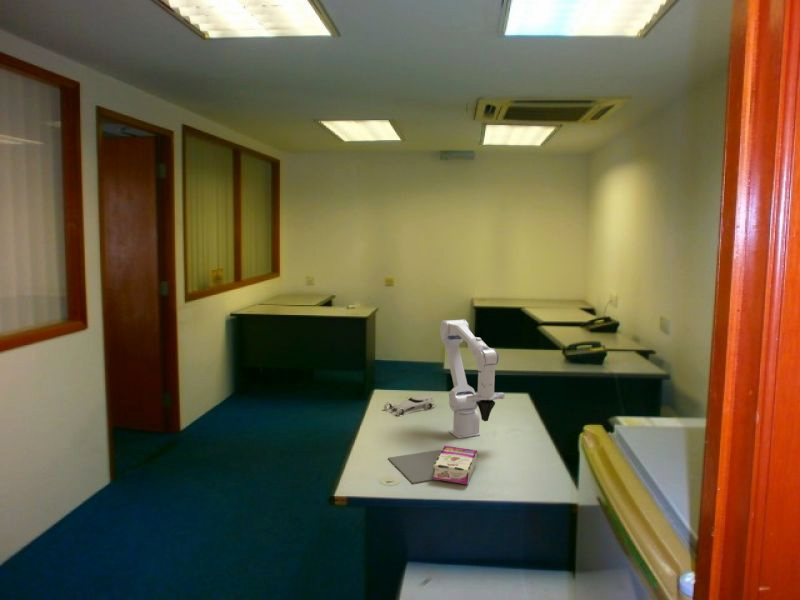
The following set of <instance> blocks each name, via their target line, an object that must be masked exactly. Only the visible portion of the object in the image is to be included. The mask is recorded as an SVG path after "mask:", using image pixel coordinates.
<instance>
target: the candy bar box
mask: <svg viewBox="0 0 800 600" xmlns="http://www.w3.org/2000/svg"><path fill="white" fill-rule="evenodd" d="M441 450H442V451H441V453H440V455H439V456H438V458H437V460H436V462H435V463H434V470H433V479H437V480H436V481H444V482H452V483H457V484H463V485H468V484H469V482H470V479H471V477H472V474H473V472H474V470H475V468H476V464H477V453H478V450H475V449H469V448H463V447H455V446H448V445H444V446H443V447H442V449H441Z"/></svg>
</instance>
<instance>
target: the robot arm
mask: <svg viewBox="0 0 800 600" xmlns="http://www.w3.org/2000/svg"><path fill="white" fill-rule="evenodd" d="M469 325H470V324H469V322H467V320H466V318H465V319H463V318H462V319H454V320H453V319H450V320H449V319H448V320H445V319H443V320H442V321H441V323H440V326H439V334H440V338H441V342H442V344H443V345H444V346H445V350H446V351H445V352H446V355H447V360H448V365H449V370H450V375H451V378H452V384H453V388H452V389H451V390H450V391H449V393H448V396H449V397H448V400H449V401H448V404H449V408H450V409H451V411H452V412H453V426H452V429H449V430H448V432H449V433H451V435H453V436H454V437H456V438H457V439H463V438H470V437H477V436H480V435H481V433H480V421H481V420H482V421H483V422H488V421H489V419H490V415H491V412H492V410H493V408H494V407H495V406H496V401H494V400H505V393H504V392H495V380H496V379H495V376H496V366H497V365H498V363H499V361H500V356H499V353H498V351H497V349H496V348H491V347H489V346H488V345H487V344H486V343H485V342H484V340H482V338H481V337H477V336H475V335H474V333H472V331H471V330H470V326H469ZM463 342H466V344H467V349H468V350H469V351H470V352H471V353H472V355H473V356H474V357H475V363H476V369H477V371H478V374H477V393H476V392H475V389H474V388H473V387H472V386H470V385H469V384H468V382H467V381H468V380H467V377H466V372H465V368H464V365H463V360H462V355H461V350H460V344H461V343H463ZM477 408H478V409H479V412H480V414H479V412H478V410H476V409H477ZM480 417H481V420H480Z"/></svg>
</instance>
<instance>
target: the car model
mask: <svg viewBox="0 0 800 600" xmlns="http://www.w3.org/2000/svg"><path fill="white" fill-rule="evenodd" d="M436 399H437V398H435V397H433V396H431V395H429V396H428V395H413V396H411V397H409V398H407V399H405V400H402V401H400V402H397V403H396V404H394V405H393V404H392V402H388V401H387V402H385V404H384V405H383V409H384V410H385V413H387V412H390V413H389V414H390V415H392V414H393V415H392V416H395V415H397V417H401V416H400V415H403V416H404V414H405V415H407V414H406V413H408V414H412V413H417V412H421V411H430V410H431V411H432V409H435V408H436V405H435V404H433V402H435V401H436ZM388 406H389V408H387V407H388Z"/></svg>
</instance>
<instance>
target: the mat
mask: <svg viewBox="0 0 800 600" xmlns="http://www.w3.org/2000/svg"><path fill="white" fill-rule="evenodd" d="M442 450H443V449H436V450H431V451H430V450H429V451H423V452H417V453H415V452H414V453H411V454H405V455H404V454H403V455H398V456H392V457H391V456H390V457H387V460H388V461H389V460H390V461H391V462H392V463H391V462H390V461H389V462H390V463H391V464H392V465H393V466H394V465H395V466H394V467H395V468H396V469H397V470H398V471H399V472H400V473H401V474H402V475H403V476H404V477H405V478H406V479H407V480H408V481H409V483H410V484H412V485H416V484H421V483H427V482H433V481H438V480H437V479H433V470H434V463H435V462H436V460H437V458H438V456H439V455H440V453H441V451H442Z"/></svg>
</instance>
